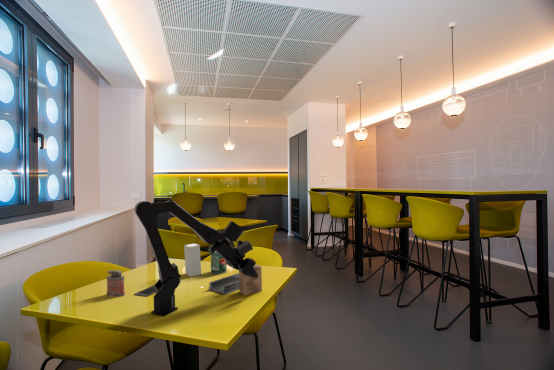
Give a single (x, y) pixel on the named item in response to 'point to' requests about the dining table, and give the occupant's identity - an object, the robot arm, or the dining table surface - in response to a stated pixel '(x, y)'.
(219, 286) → the door track
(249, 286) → the brown wooden block
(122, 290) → the lighter
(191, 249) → the skincare box
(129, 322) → the dining table surface
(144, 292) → the cell phone
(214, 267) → the canned tomato
